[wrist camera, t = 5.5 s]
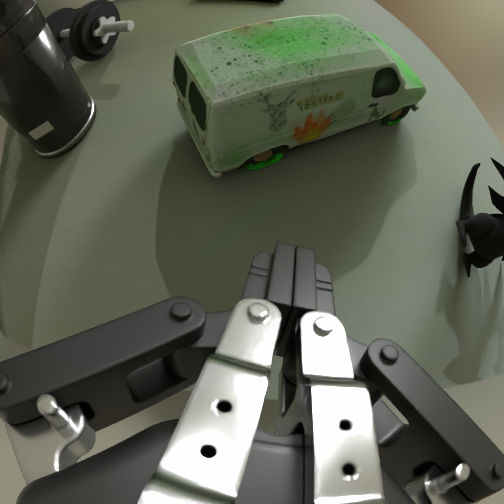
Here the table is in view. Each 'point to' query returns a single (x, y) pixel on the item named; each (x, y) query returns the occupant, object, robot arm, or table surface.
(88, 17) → the dumbbell
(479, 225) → the figurine
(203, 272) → the table surface
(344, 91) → the toy car
